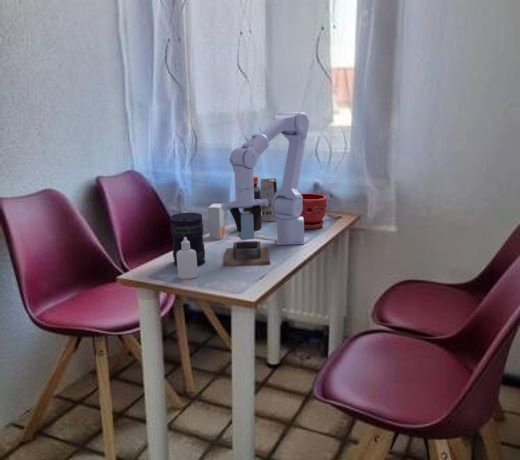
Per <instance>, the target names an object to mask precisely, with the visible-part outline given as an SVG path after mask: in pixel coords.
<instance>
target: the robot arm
mask: <svg viewBox="0 0 520 460" xmlns="http://www.w3.org/2000/svg"><path fill="white" fill-rule="evenodd" d="M309 124H310V120H309V117H308V116H307V114H306V113H305V112H304V111H300V112H297V111H290V112H289V111H287V112H286V111H279V112H278V113H277V114H275V115H274V117H273V121H271V122H270V123H269V125H268V126H267V127H266V128H265V129H264V130H263V131H262V132H261V133H253V134H252V135H251V138H249V139H248V140H247V141H246V142H244V143H243V144H242V146H241V147H237V148H235V149H233V150H232V152H231V154H230V157H229V163H230V165H231V166H232V171H233V173H234V190H235V191H234V192H235V194H234V195H235V200H234V201H229V202H222V203H221V204H222V210H223V211H224V212H225V211H226V212H227V211H228V210H229V213H230V214H231V216H232V218H233V220H234V223H235V227H236V231H237V233H238V232H241V222H240V221H241V212H242V211H240V210H241V209H243V208H249V207H250V212H251V213H253V220H254V230H255V227H256V223H257V219H258V217H259V215H260V213H261V214H262V207H261V208H260V206H268V200H267V199H254V179H253V176H254V167H255V166H256V165H257V163H258V159H260V158H259V157H260V156H261V155H262V154H263V153H264V152H265V151H266V150H268V148H269V146H270V142H271V141H272V140H273V139H276V137H277V136H278V135H280V134H281V135H283V137H284V138H286V139H287V142H288V147H287V154H286V159H285V165H284V172H283V177H282V183H281V188H279V189H278V190H277V192H276V193H275V197H274V199H273V201H272V204H271V208H272V211H273V213H274V214H275V217H277V221H276V236H275V242H276V245H277V246H286V245H304V244H305V229H304V219H303V217H299V216H300V215H301V213H302V210H303V205H302V199H303V197H302V195H301V194H302V193H300V192H299V191H298V186H299V180H300V175H301V170H302V169H301V168H302V164H303V157H304V152H305V145H306V139H307V136H308V130H309ZM255 231H256V230H255Z"/></svg>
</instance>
